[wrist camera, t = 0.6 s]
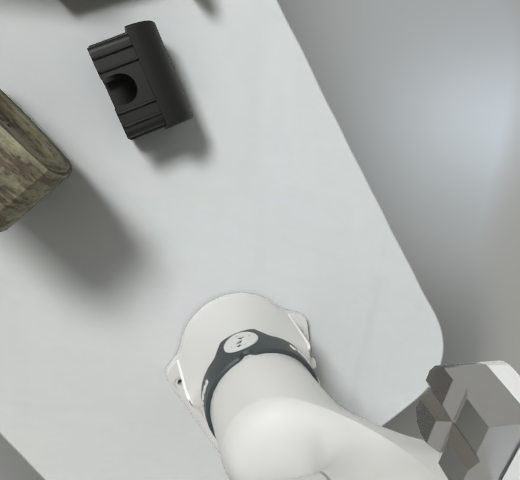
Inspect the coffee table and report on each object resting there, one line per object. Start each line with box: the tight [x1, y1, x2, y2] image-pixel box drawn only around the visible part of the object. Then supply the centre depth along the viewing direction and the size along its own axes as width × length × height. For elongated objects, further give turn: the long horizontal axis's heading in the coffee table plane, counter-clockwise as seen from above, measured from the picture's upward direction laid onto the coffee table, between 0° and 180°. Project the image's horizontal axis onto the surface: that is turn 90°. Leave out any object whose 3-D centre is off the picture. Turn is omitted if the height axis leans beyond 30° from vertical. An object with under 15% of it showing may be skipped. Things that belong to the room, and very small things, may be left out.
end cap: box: [87, 21, 193, 140], centre depth 51 cm, size 10×7×7 cm
